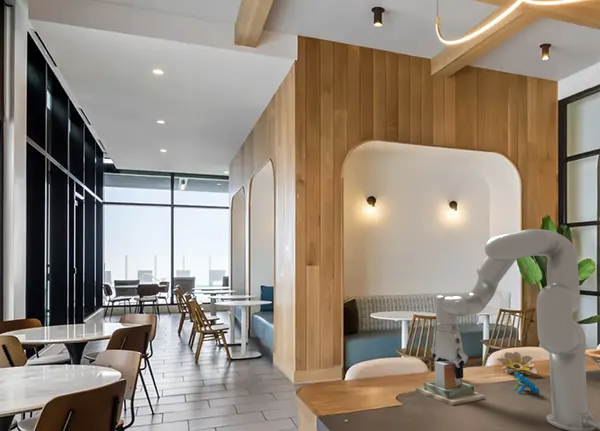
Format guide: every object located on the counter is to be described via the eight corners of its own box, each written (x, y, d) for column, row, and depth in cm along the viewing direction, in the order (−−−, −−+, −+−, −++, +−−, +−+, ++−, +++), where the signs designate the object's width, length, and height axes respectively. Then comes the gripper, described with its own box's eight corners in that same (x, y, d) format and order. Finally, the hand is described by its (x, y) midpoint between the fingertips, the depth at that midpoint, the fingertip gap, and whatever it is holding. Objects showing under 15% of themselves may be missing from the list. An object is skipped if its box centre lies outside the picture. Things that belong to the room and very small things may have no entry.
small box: (444, 394, 156) (443, 364, 158) (434, 390, 162) (434, 361, 163) (462, 392, 159) (461, 363, 160) (452, 388, 164) (451, 359, 165)
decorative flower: (498, 372, 186) (498, 348, 188) (495, 372, 196) (495, 349, 199) (537, 377, 181) (537, 353, 184) (532, 377, 191) (532, 354, 194)
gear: (546, 393, 157) (524, 372, 159) (536, 405, 156) (514, 384, 158) (531, 388, 168) (511, 369, 170) (521, 399, 167) (501, 380, 169)
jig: (484, 398, 156) (483, 387, 156) (451, 405, 149) (451, 394, 149) (446, 385, 172) (446, 376, 172) (415, 391, 165) (415, 381, 165)
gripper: (472, 330, 157) (475, 379, 155) (437, 324, 172) (439, 369, 170) (457, 332, 153) (460, 382, 151) (423, 326, 168) (425, 371, 167)
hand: (449, 375), depth 161 cm, fingers open, 9 cm apart
